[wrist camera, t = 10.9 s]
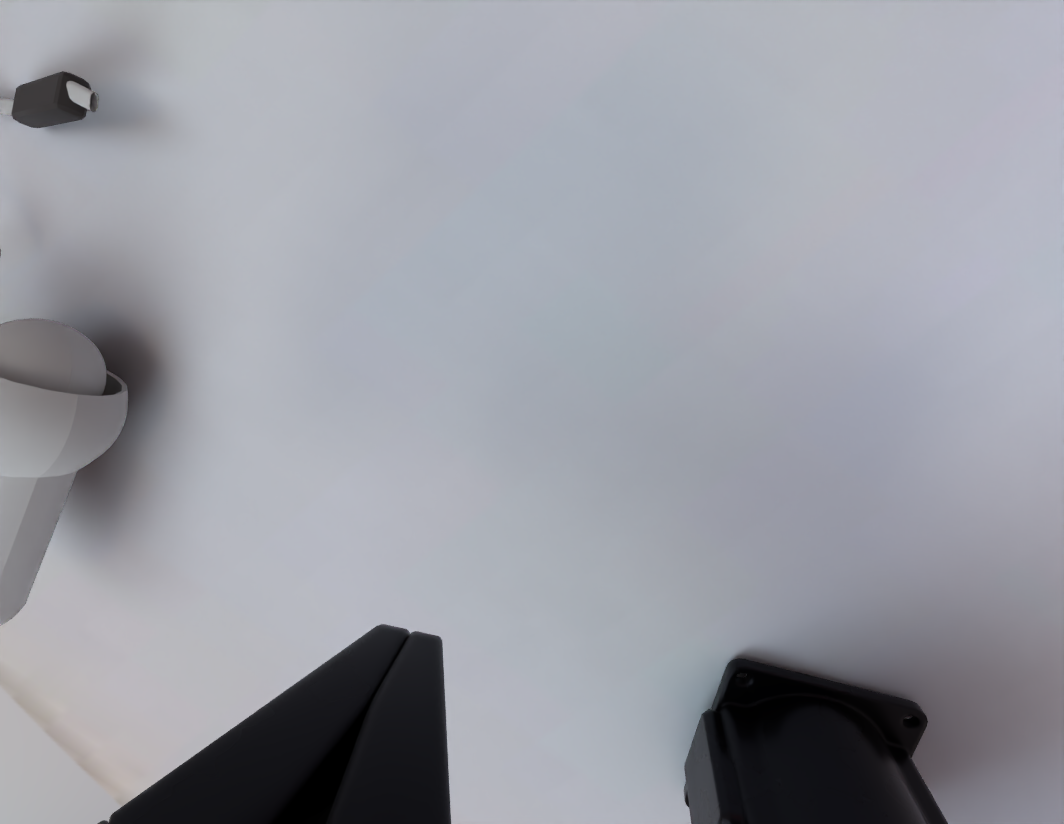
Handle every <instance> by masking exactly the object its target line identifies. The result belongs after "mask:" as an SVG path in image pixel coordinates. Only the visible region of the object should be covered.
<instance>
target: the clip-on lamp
mask: <svg viewBox="0 0 1064 824" xmlns="http://www.w3.org/2000/svg"><path fill="white" fill-rule="evenodd" d="M98 99H99V97H98V94H97V93H96V92H94V91H92V90H91V88H90V85H89V83H88V82H86V81H85V80H84V79H82V78H80V77H78V76H75V75H73V74H71V73H68V72H60V73H56V74H53V75H50V76H47V77H44V78H41V79H38V80H35V81H32V82H29V83H26V84H23V85H20V86H19V87H17V88H16V92H15V97H14V99H10V98H4V97H0V114H2V115H7V116H12V117H13V119H15V120H16V121H18V122H19V123H22V124H24V125H27V126H29V127H33V128H42V127H47V126H52V125H57V124H62V123H66V122H71V121H76V120H81V119H83V118H84V117H85V116H86V111H87V109H88V110H90V111H92V112H95V111H96V110H97V108H98ZM0 256H1V249H0ZM127 409H128V391H127V385H126V384H125V383H124V382H123V381H122V380H121V379H120V378H119V377H118V376H116V375H114V374H113V373H111V372H109V371H108V370H106V365H105V362H104V359H103V356H102V355H101V353H100V351H99V349H98V348H97V347H96V346H95V345H94V343H93V342H92V341H91V340H89V339H88V338H87V337H86V336H85V335H84V334H82V333H81V332H79V331H77V330H76V329H74V328H72V327H70V326H67V325H65V324H62V323H59V322H56V321H51V320H46V319H21V320H13V321H10V322H6V323H3V324H0V626H1V625H3V624H5V623H6V622H8V621H9V620H10V619H12V618H13V617H14V616H15V615H16V614H17V613H18V612H19V611H20V610H21V609H22V608H23V606H24V605H25V604H26V601H27V598H28V596H29V593H30V591H31V588H32V586H33V583H34V580H35V578H36V575H37V573H38V570H39V568H40V565H41V563H42V560H43V557H44V555H45V552H46V550H47V547H48V545H49V542H50V540H51V537H52V534H53V532H54V529H55V527H56V524H57V522H58V519H59V517H60V514H61V511H62V509H63V506H64V504H65V501H66V499H67V496H68V494H69V491H70V488H71V486H72V483H73V481H74V478H75V476H76V473H77V471H78V470H79V469H81V468H83V467H85V466H86V465H88V464H89V463H91V462H92V461H93V460H95V459H96V458H98V457H99V456H101V455H102V454H103V453H104V452H105V451H106V450H107V449H108V448H109V447H111V446H112V444H113V443H114V442H115V440H116V439H117V438H118V436H119V434H120V432H121V430H122V428H123V426H124V424H125V420H126V416H127Z"/></svg>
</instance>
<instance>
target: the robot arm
mask: <svg viewBox="0 0 1064 824" xmlns="http://www.w3.org/2000/svg"><path fill="white" fill-rule="evenodd" d="M740 673H746V674H747V675H746V676H744V677H737V674H740ZM907 716H912V717H911V718H908V719H904V718H905V717H907ZM927 723H928V720H927V717H926V715H925V714H924V712H923V711H922V709H921V707H920V706H919V705H918V704H917V703H915V702H912V701H909V700H905V699H901V698H897V697H893V696H889V695H885V694H881V693H878V692H874V691H870V690H866V689H862V688H858V687H854V686H850V685H846V684H842V683H838V682H834V681H830V680H826V679H822V678H818V677H814V676H810V675H806V674H802V673H798V672H794V671H790V670H786V669H782V668H778V667H774V666H770V665H766V664H762V663H758V662H754V661H750V660H746V659H735V660H733V661H731V662H730V663H728V665H727V667H726V669H725V672H724V675H723V678H722V680H721V683H720V686H719V689H718V692H717V695H716V698H715V701H714V703H713V706H712V709H711V710H710V709H708V710H707V711H705V712H704V713H703V714H702V716H701V719H700V721H699V724H698V727H697V730H696V733H695V736H694V739H693V742H692V745H691V748H690V751H689V754H688V756H687V759H686V762H685V776H686V784H685V787H684V796H685V802H686V804H687V806H688V807H689V808H690V816H691V824H948V823H947V821H946V819H945V817H944V816H943V814H942V812H941V810H940V808H939V807H938V805H937V803H936V801H935V800H934V798H933V796H932V794H931V793H930V791H929V789H928V787H927V786H926V784H925V782H924V780H923V779H922V777H921V775H920V773H919V772H918V770H917V768H916V766H915V764H914V763H913V761H912V759H911V757H912V755H913V753H914V751H915V749H916V747H917V745H918V743H919V741H920V739H921V737H922V735H923V733H924V731H925V729H926V727H927ZM98 824H451V814H450V794H449V773H448V752H447V731H446V710H445V689H444V669H443V648H442V640H441V638H440V637H439V636H435V635H431V634H426V633H422V632H417V631H415V632H412V633H411V634H410V632H409V631H408V630H407V629H403V628H399V627H394V626H390V625H385V624H382V625H379V626H376V627H375V628H373V629H372V630H371V631H369V632H368V633H366V634H365V635H363V636H362V637H361V638H359V639H358V640H356V641H355V642H354V643H352V644H351V645H349V646H348V647H347V648H345V649H344V650H342V651H341V652H340V653H338V654H337V655H335V656H334V657H332V658H331V659H330V660H328V661H327V662H325V663H324V664H323V665H321V666H320V667H318V668H317V669H316V670H314V671H313V672H311V673H310V674H309V675H307V676H306V677H304V678H303V679H301V680H300V681H299V682H297V683H296V684H294V685H293V686H292V687H290V688H289V689H287V690H286V691H285V692H283V693H282V694H280V695H279V696H278V697H276V698H275V699H273V700H272V701H270V702H269V703H268V704H266V705H265V706H263V707H262V708H261V709H259V710H258V711H256V712H255V713H254V714H252V715H251V716H249V717H248V718H247V719H245V720H244V721H242V722H241V723H239V724H238V725H237V726H235V727H234V728H232V729H231V730H230V731H228V732H227V733H225V734H224V735H223V736H221V737H220V738H218V739H217V740H216V741H214V742H213V743H211V744H210V745H208V746H207V747H206V748H204V749H203V750H201V751H200V752H199V753H197V754H196V755H194V756H193V757H192V758H190V759H189V760H187V761H186V762H185V763H183V764H182V765H180V766H179V767H177V768H176V769H175V770H173V771H172V772H170V773H169V774H168V775H166V776H165V777H163V778H162V779H161V780H159V781H158V782H156V783H155V784H154V785H152V786H151V787H149V788H148V789H146V790H145V791H144V792H142V793H141V794H139V795H138V796H137V797H135V798H134V799H132V800H131V801H130V802H128V803H127V804H125V805H124V806H123V807H121V808H120V809H118V810H117V811H116V812H114V813H113V814H112V815H111V817H110V820H109V823H108V821H101V822H100V823H98Z"/></svg>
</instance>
